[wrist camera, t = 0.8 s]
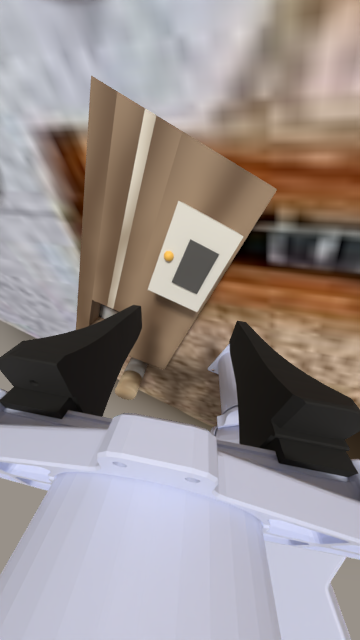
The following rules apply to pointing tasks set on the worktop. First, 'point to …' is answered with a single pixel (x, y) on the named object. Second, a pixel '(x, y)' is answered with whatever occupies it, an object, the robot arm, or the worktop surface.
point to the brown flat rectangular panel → (149, 213)
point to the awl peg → (131, 379)
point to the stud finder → (192, 257)
